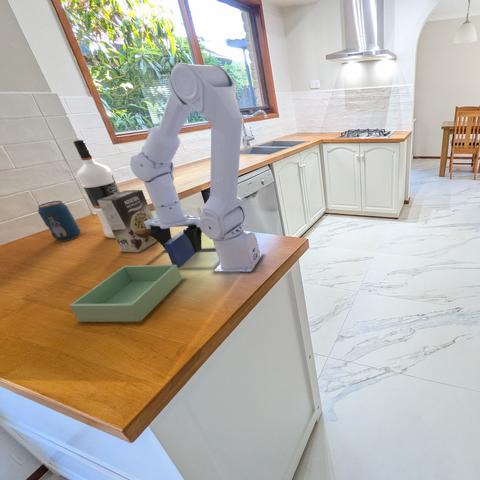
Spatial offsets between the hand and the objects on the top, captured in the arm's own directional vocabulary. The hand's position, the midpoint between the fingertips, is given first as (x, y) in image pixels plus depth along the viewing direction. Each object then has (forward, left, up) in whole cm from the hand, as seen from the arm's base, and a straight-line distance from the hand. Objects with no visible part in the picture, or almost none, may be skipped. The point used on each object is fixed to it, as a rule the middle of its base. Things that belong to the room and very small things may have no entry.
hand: (185, 251), depth 77 cm
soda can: (+52, -16, -3) cm, 54 cm away
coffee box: (+20, -9, -3) cm, 22 cm away
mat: (0, 0, -2) cm, 2 cm away
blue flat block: (0, 0, -2) cm, 2 cm away
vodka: (+34, -18, -3) cm, 39 cm away
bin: (+2, +17, -2) cm, 17 cm away
